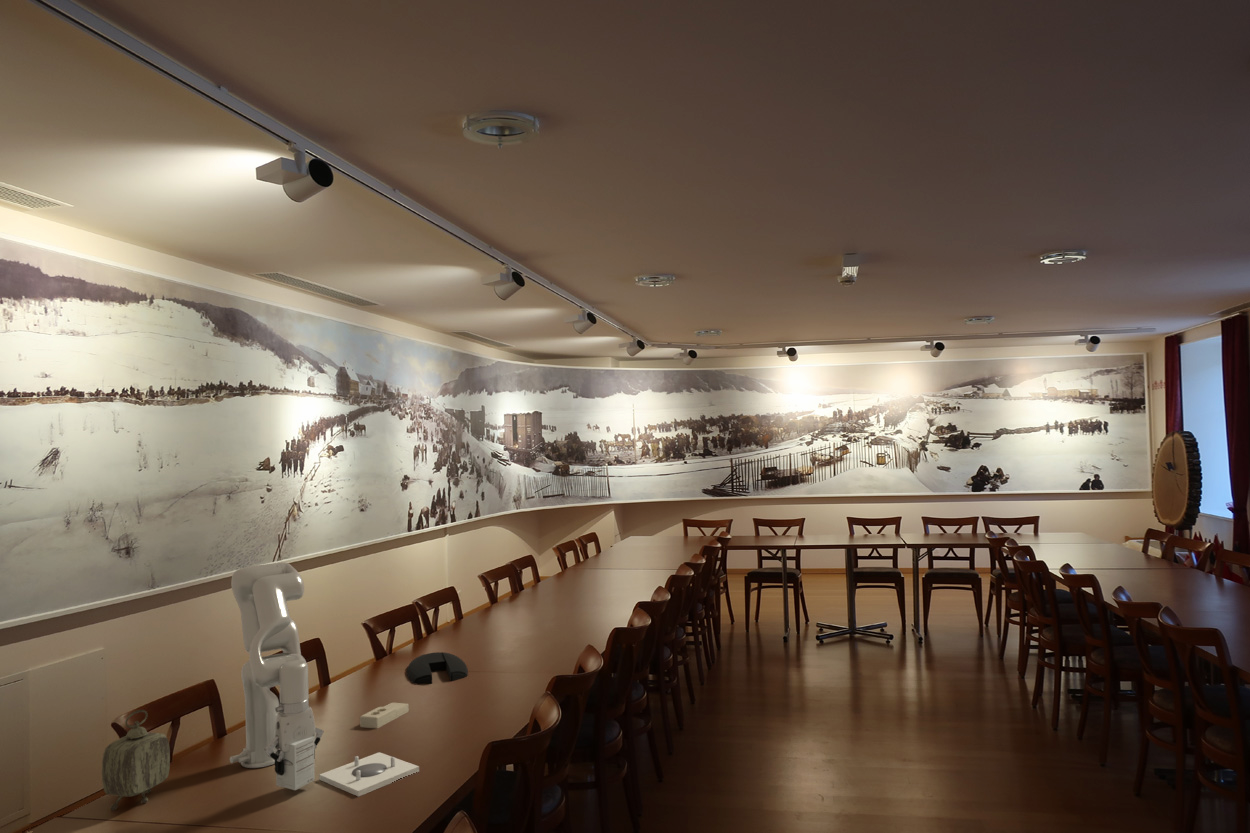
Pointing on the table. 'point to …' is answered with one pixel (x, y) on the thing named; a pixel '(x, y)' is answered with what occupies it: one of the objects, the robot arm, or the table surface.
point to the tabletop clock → (135, 762)
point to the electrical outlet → (383, 715)
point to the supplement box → (297, 765)
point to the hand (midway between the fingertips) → (295, 768)
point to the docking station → (436, 667)
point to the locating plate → (368, 773)
